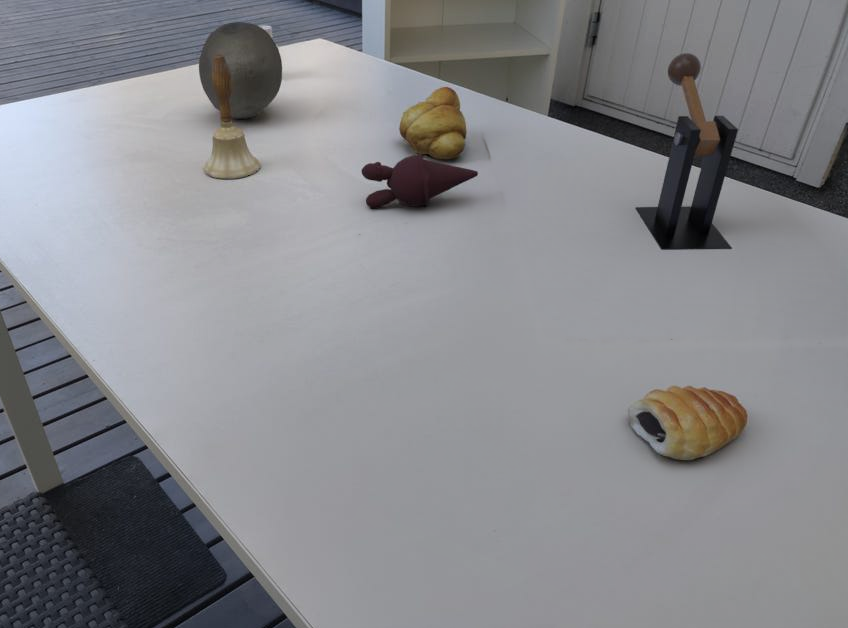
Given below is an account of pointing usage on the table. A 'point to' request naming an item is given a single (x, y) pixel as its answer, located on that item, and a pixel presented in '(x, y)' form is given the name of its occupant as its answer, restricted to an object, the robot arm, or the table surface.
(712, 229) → the bracket
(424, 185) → the icecream
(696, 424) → the pastry
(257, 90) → the grey round ball
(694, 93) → the lever
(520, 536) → the table surface
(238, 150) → the hand bell
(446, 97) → the bread roll
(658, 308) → the table surface
